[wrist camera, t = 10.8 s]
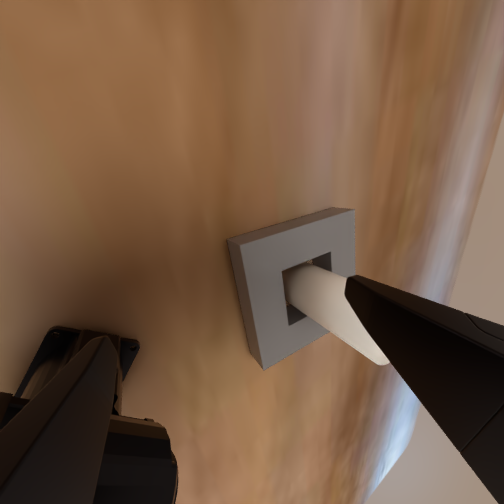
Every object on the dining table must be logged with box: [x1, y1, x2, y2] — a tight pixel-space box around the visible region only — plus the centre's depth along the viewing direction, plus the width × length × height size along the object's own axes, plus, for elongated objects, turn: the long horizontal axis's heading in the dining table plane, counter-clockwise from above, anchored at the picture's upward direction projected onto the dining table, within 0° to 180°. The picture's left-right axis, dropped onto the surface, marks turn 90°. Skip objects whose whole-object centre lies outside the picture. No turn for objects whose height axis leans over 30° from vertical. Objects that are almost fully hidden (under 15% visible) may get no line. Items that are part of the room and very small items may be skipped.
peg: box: [282, 262, 390, 365], centre depth 22 cm, size 5×5×12 cm
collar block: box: [227, 208, 355, 370], centre depth 25 cm, size 14×14×3 cm
